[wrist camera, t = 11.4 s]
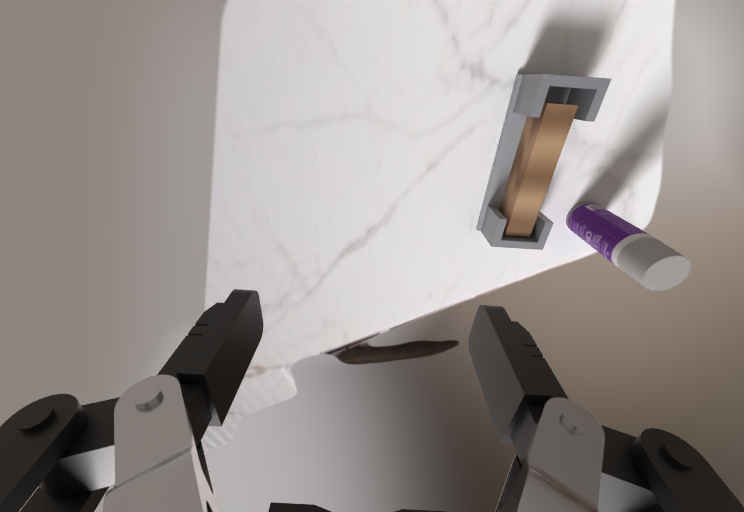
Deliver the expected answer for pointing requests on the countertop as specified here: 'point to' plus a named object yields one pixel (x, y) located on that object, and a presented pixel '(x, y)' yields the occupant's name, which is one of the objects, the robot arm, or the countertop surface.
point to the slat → (535, 166)
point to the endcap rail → (523, 103)
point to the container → (629, 247)
